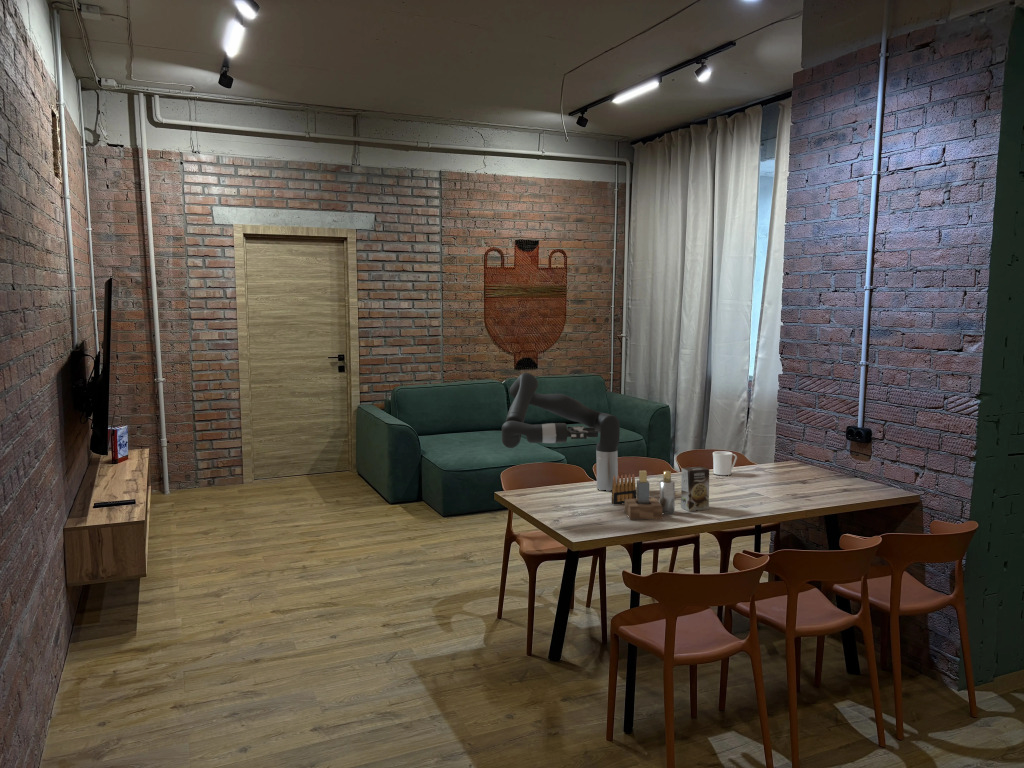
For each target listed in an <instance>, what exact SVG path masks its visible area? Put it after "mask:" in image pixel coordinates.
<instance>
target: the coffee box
mask: <svg viewBox="0 0 1024 768" xmlns="http://www.w3.org/2000/svg"><path fill="white" fill-rule="evenodd" d="M680 478H681V479H680V480H681V482H680V485H681V487H680V488H681V489H680V490H681V491H680V508H681V509H683V510H686V511H687V512H696V510H698V511H706V510H709V509H710V469H709V468H707V467H705V466H704V467H703V466H693V467H692V466H691V467H690V466H689V467H688V466H687V467H681V477H680Z"/></svg>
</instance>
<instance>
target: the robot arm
mask: <svg viewBox="0 0 1024 768" xmlns="http://www.w3.org/2000/svg"><path fill="white" fill-rule="evenodd" d="M538 386H539V382H538V380H537V377H536V376H534V375H533V374H532V373H529V372H523V373H521V374H520V375H519V376H518V377H517V378H516V379H515V381H513V383H512V384H511V386H510V387H509V393H510V395H511V396H512V397H513V401H512V403H511V405H510V406H509V410H508V412H507V415H506V417H505V418H506V419H505V422H504V423H503V424H502V426H501V442H502V444H503V446H504V447H505V448H508V449H513V448H516V447H518V445H519V444H521V439H522V435H523V436H525V437H526V441H527V442H528V443H531V444H540V443H541V444H543V443H544V444H560V443H561V444H562V443H564V444H565V443H567V441H568V438H570V439H571V440H577V439H578V440H579V439H580V440H586V439H588V438H598V437H599V442H598V443H596V449H595V450H596V451H595V453H596V490H598V489H600V490H599V491H601V490H606V491H605V492H612V491H611V490H612V486H613V477H614V475H615V478H616V484H617V476H618V475H619V473H618V472H619V469H618V468H619V466H618V464H619V463H618V459H619V458H618V449H619V447H618V446H619V444H620V433H621V431H620V427H621V426H620V420H619V418H618V417H616V416H615V415H613V414H609V413H606V412H601V411H597V410H594V409H591V408H590V407H588V406H586V405H584V403H581V402H580V401H578V400H577V399H575V398H573V397H570V396H568V395H566V394H565V393H564V394H563V393H547V394H545V393H538V392H536V391H537V389H538ZM530 405H531V406H534V407H536V408H539V409H542V410H545V411H548V412H550V413H553V414H555V415H557V416H559V417H561V418H563V419H565V420H569V421H572V422H576V423H580V424H582V425H584V426H581V425H579V426H577V425H576V426H568V425H567V423H565V422H558V423H557V422H556V423H555V422H554V423H553V422H550V423H540V424H538V423H537V424H535V423H534V424H531V423H527V422H526V423H525V420H526V415H527V413H528V409H529V406H530ZM585 426H586V427H585ZM599 435H600V436H599Z"/></svg>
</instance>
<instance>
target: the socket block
mask: <svg viewBox="0 0 1024 768" xmlns="http://www.w3.org/2000/svg"><path fill="white" fill-rule="evenodd" d="M624 512H626V513H625V514H626V516H627V515H628V516H629V517H628V516H627V517H628V519H629V518H630V519H629V520H630V521H634V520H633V519H653V520H663V514H662V505H661V504H660V501H658V499H657V498H656V497H649V504H637V497H636V499H625V504H624Z"/></svg>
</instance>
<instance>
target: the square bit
mask: <svg viewBox="0 0 1024 768" xmlns="http://www.w3.org/2000/svg"><path fill="white" fill-rule="evenodd" d="M638 472H639V473H638V476H639V477H638V480H636V498H637V504H649V498H650V481H648V479H647V478H648V476H647V475H648V472H647V470H645V469H644V470H639V471H638Z"/></svg>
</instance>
